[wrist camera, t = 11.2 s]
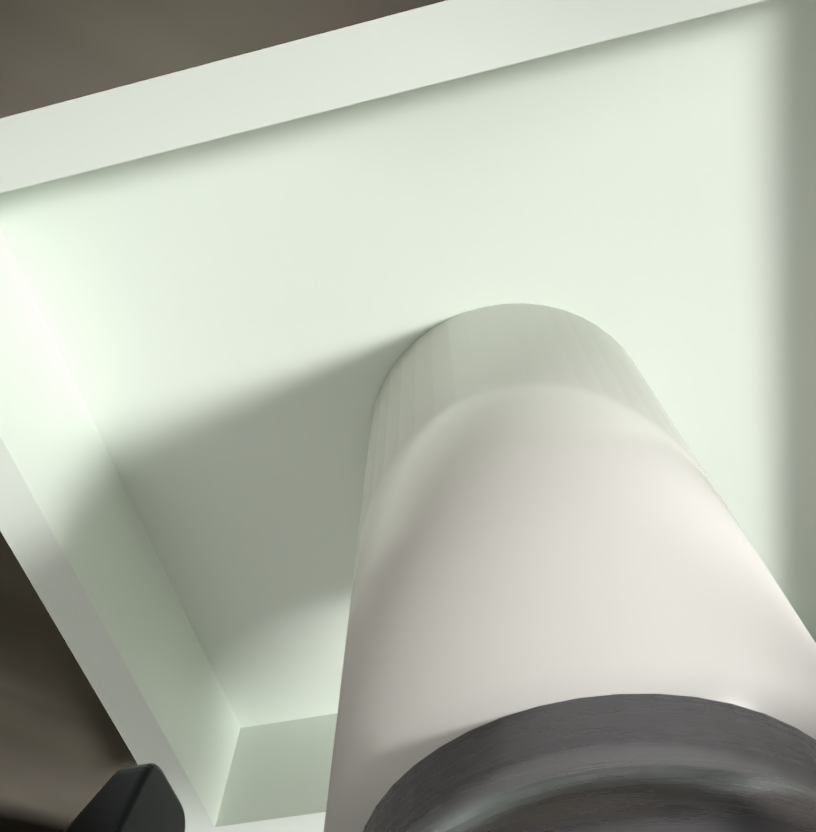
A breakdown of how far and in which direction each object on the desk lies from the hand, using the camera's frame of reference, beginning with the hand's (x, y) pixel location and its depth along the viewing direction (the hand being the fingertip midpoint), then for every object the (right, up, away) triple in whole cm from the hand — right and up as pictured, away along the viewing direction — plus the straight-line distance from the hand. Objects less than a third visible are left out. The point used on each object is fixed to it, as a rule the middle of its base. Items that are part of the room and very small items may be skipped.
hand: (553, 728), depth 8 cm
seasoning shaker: (0, +3, +5) cm, 6 cm away
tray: (0, +3, +6) cm, 7 cm away
